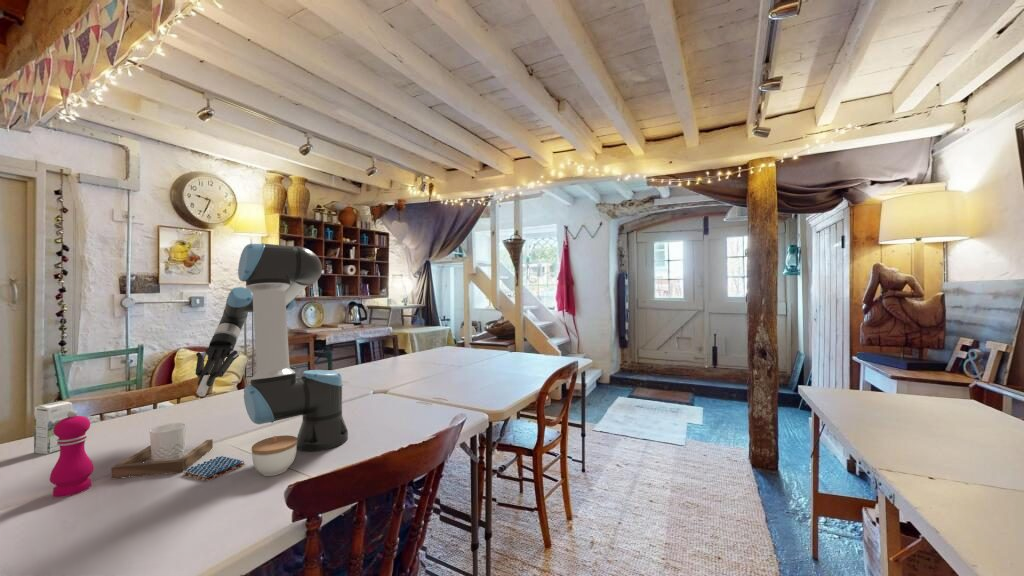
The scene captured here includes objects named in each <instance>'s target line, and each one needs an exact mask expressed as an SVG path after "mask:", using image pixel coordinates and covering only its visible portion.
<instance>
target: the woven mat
mask: <svg viewBox="0 0 1024 576" xmlns="http://www.w3.org/2000/svg"><path fill="white" fill-rule="evenodd" d="M245 466H246V464H245V462H244V460H242V459H238V458H237V459H236V458H234V457H233V458H231V457H229V456H225V455H222V456H216V457H215V458H213V459H212V458H211V459H209V461H206V460H205V461H203V463H198V464H197V465H195V466H192V465H191V466H190V467H189V468H187V469H184V471H183V474H182V476H185V477H188V478H193V479H194V480H200V481H203V482H209V481H211V480H212V481H213V480H214V479H216V478H219V477H222V476H223V475H226V474H228V473H230V472H232V471H235V470H238V469H240V468H242V467H245Z"/></svg>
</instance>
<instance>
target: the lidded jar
mask: <svg viewBox="0 0 1024 576" xmlns="http://www.w3.org/2000/svg"><path fill="white" fill-rule="evenodd" d="M297 449H298V448H297V436H294V435H275V436H272V437H268V438H267V437H266V438H263V439H262V440H258V441H257V442H255V443H254V444H253V445H252V446H251V458H252V464H253V466H254V468H255V469H256V471H257V472H259V473H260V474H261V475H262V476H263V477H273V476H278V475H280V474H283V473H285V472H286V471H287V470H288V469H289V467H291V466H292V464H293V463H294V461H295V458H296V455H297Z"/></svg>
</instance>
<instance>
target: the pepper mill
mask: <svg viewBox="0 0 1024 576" xmlns="http://www.w3.org/2000/svg"><path fill="white" fill-rule="evenodd" d="M78 413H79V412H78V411H77V410H74V409H72V411H69V412H68V413H67V418H65V419H62V420H60V421H59V422H58V423H57V424H56V425H55V427H54V434H55V435H56V436H57V437H59V439H57V445H58V446H60V451H59V457H58V459H57V461H56V463H55V464H54V467H52V470H51V473H50V475H49V482H50V483H51V484H53V485H54V487H53V488H52V497H54V498H64V497H70V496H74V495H77V494H80V493H83V492H85V491H87V490H88V489H90V488H91V486H92V478H90V476H91V475H92V474H93V473H94V471H95V468H94V467H95V465H94V462H93V461H92V460H91V458H90V457H89V456H88V454H87V453H86V450H85V444H86V443H85V442H86V440H88V433H86V432H88V430H89V429H90V427H91V421H90V419H89V418H87V416H83V415H78ZM89 487H90V488H89ZM86 489H87V490H86ZM84 490H85V491H84ZM82 491H83V492H82ZM73 494H74V495H73ZM69 495H70V496H69Z"/></svg>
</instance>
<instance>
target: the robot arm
mask: <svg viewBox="0 0 1024 576" xmlns="http://www.w3.org/2000/svg"><path fill="white" fill-rule="evenodd" d="M239 257H240V258H239V260H238V261H239V263H238V268H237V273H238V274H237V276H238V280H239V281H241V282H243V283H244V282H245V287H244V286H238V287H234V288H232V289H231V290H230V292H229V293H228V295H227V298H226V302H225V306H224V309H223V313H222V316H221V318H220V321H219V323H218V325H217V327H216V329H215V331H214V333H213V335H212V338H211V339H210V342H209V344H208V347H207V348H206V349H205V350H204V351H203V352H200V351H197V352H196V354H195V356H196V357H197V359H196V366H195V367H196V368H195V373H194V374H195V375H196V377H197V378H198V381H197V386H198V388H197V389H196V392H195V393H196V394H197V395H198V397H200V398H201V397H206V394H207V393H208V389H209V387H212V386H213V384H214V381H215V379H217V378H222V377H223V376H224V375H225V373H227V371H228V369H229V368H230V366H231V365H232V364H233V363H234V361H235V360H236V359H237V358H238V357H239V356H240V354H239V352H238V350H235V347H236V344H237V341H238V339H239V337H240V334H241V332H242V329H243V326H244V325H245V322H246V320H247V318H248V316H249V313H253V329H254V330H253V331H254V333H253V334H254V349H255V350H254V352H255V368H256V372H255V374H253V376H251V377H250V384H247V385H246V386H245V387H244V388H243V401H244V407H245V410H246V413H247V415H248V417H249V419H250V421H251V422H252V423H254V424H256V425H264V424H268V423H271V424H273V423H274V422H277V421H281V420H286V419H289V418H295V417H299V416H302V422H301V424H300V427H299V431H298V433H297V436H296V438H297V449H299V450H300V451H305V452H316V451H317V452H318V451H323V450H329V449H332V448H336V447H337V446H340V445H343V444H344V443H346V441H348V439H349V430H348V428H347V425H346V422H345V419H344V416H343V377H342V374H341V373H340V372H338V371H335V370H327V369H310V370H304V371H303V372H302V373H301V376H300V377H297V374H296V373H297V372H296V371H295V370H293V369H292V368H291V366H290V350H289V336H288V334H289V333H288V319H287V311H291V310H293V308H294V306H295V298H296V297H297V296H298V295H299V294H300V293H301V292H302V291H304V289H306V287H309V286H312V285H314V284H315V283H317V281H318V280H319V279H320V278H321V275H322V273H323V265H322V262H321V259H320V258H319V257H318V255H317V254H316V253H314V252H313V251H312V250H310V249H308V248H306V247H302V246H300V245H299V246H297V245H295V246H294V245H282V244H272V243H264V242H263V243H248V244H246V245H244V247H243V249H242V251H241V254H240V256H239ZM206 356H207V359H206ZM205 359H206V362H205Z"/></svg>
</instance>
